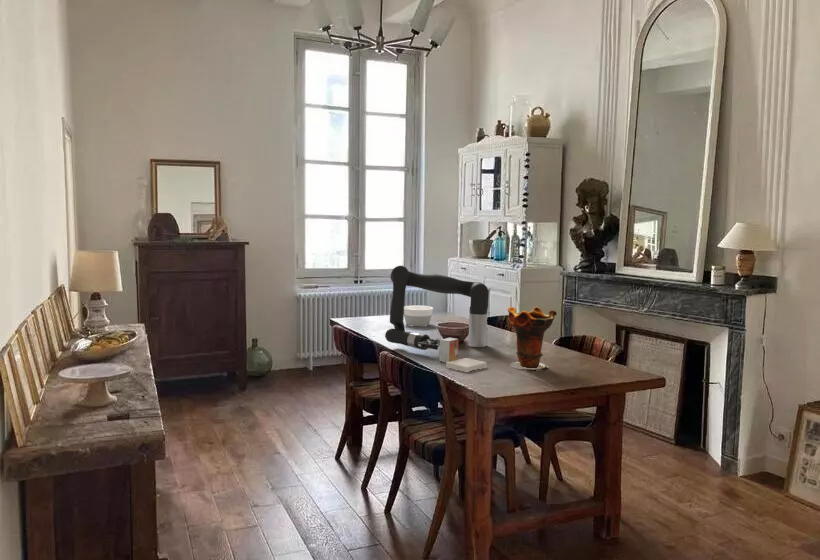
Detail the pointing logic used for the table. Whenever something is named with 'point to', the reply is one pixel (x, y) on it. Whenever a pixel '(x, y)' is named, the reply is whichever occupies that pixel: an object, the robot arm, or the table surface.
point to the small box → (448, 349)
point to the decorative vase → (530, 335)
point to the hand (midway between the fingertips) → (443, 346)
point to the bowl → (418, 315)
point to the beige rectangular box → (466, 364)
